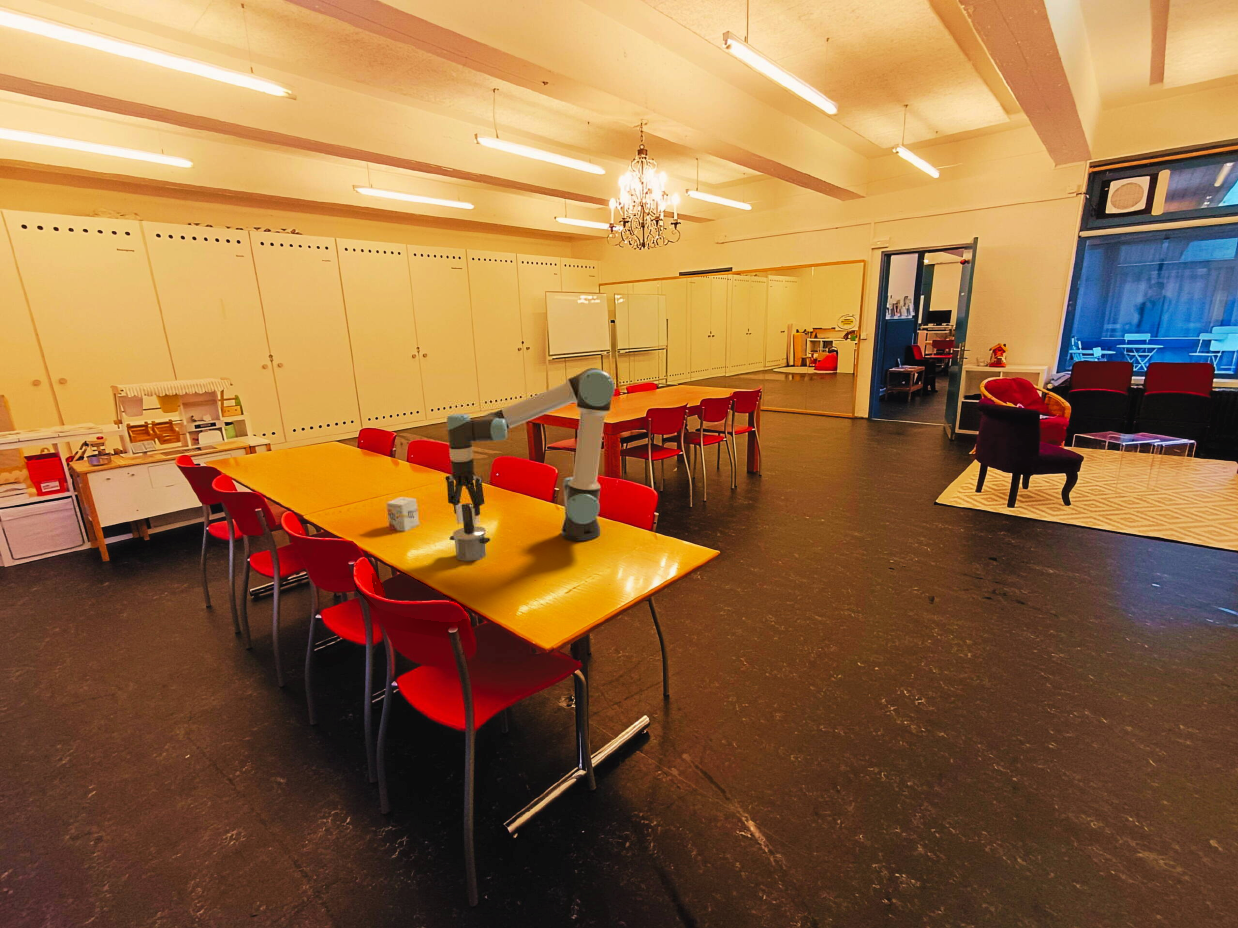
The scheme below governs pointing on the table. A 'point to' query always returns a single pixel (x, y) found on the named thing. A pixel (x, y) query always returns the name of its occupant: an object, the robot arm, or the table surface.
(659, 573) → the table surface
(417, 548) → the table surface
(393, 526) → the ink box
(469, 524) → the lid
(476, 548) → the pot
